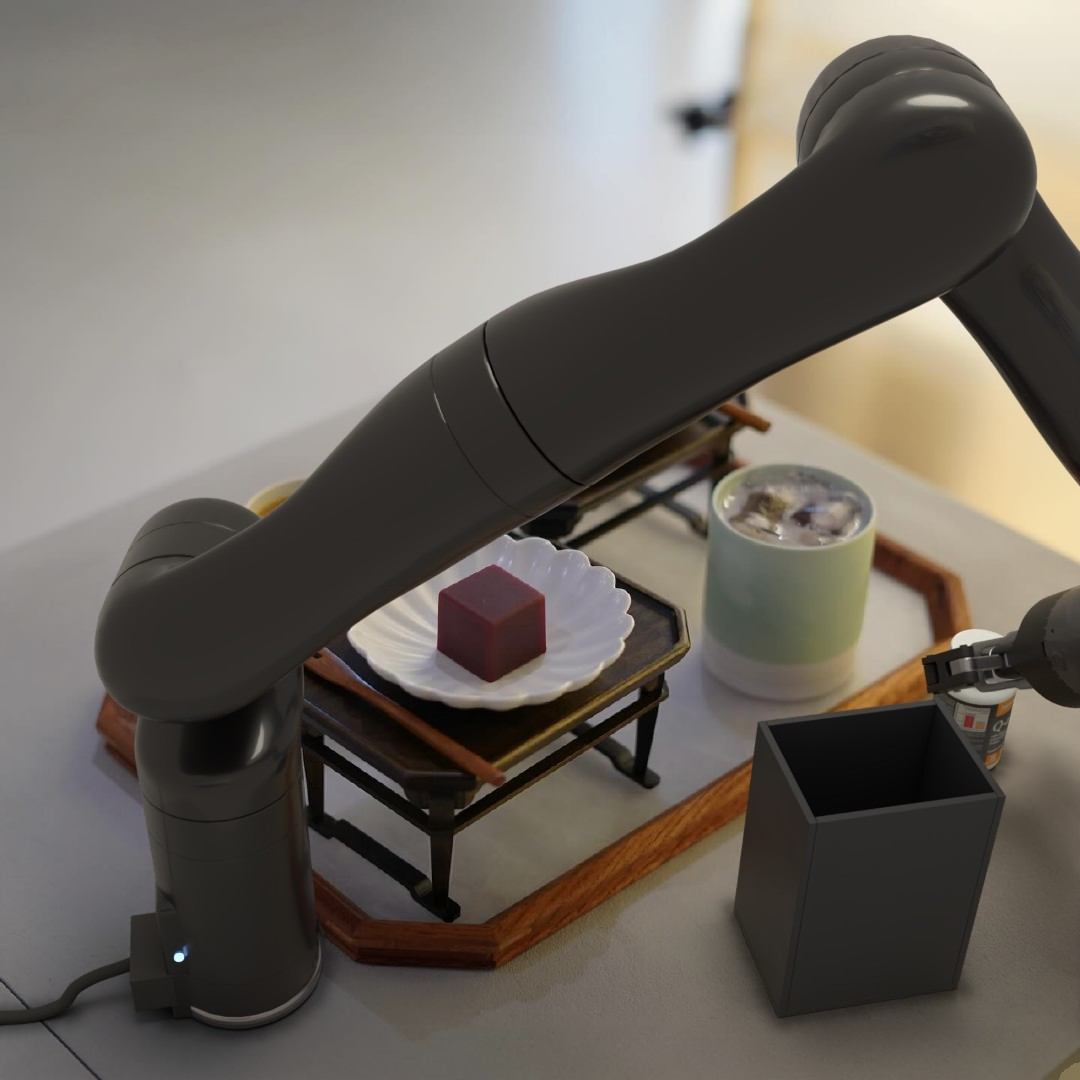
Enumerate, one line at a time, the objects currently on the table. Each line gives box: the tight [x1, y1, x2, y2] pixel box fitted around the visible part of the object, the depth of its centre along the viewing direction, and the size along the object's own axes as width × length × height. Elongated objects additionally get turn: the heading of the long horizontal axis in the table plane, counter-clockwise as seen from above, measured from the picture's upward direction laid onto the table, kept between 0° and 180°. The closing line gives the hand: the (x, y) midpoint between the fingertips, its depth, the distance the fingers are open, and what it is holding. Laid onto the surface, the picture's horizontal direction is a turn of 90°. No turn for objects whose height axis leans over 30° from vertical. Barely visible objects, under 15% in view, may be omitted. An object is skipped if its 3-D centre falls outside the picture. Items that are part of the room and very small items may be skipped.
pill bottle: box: [932, 628, 1018, 771], centre depth 113 cm, size 6×6×10 cm
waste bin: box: [733, 698, 1007, 1018], centre depth 94 cm, size 12×9×16 cm
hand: (989, 672), depth 110 cm, fingers open, 8 cm apart
